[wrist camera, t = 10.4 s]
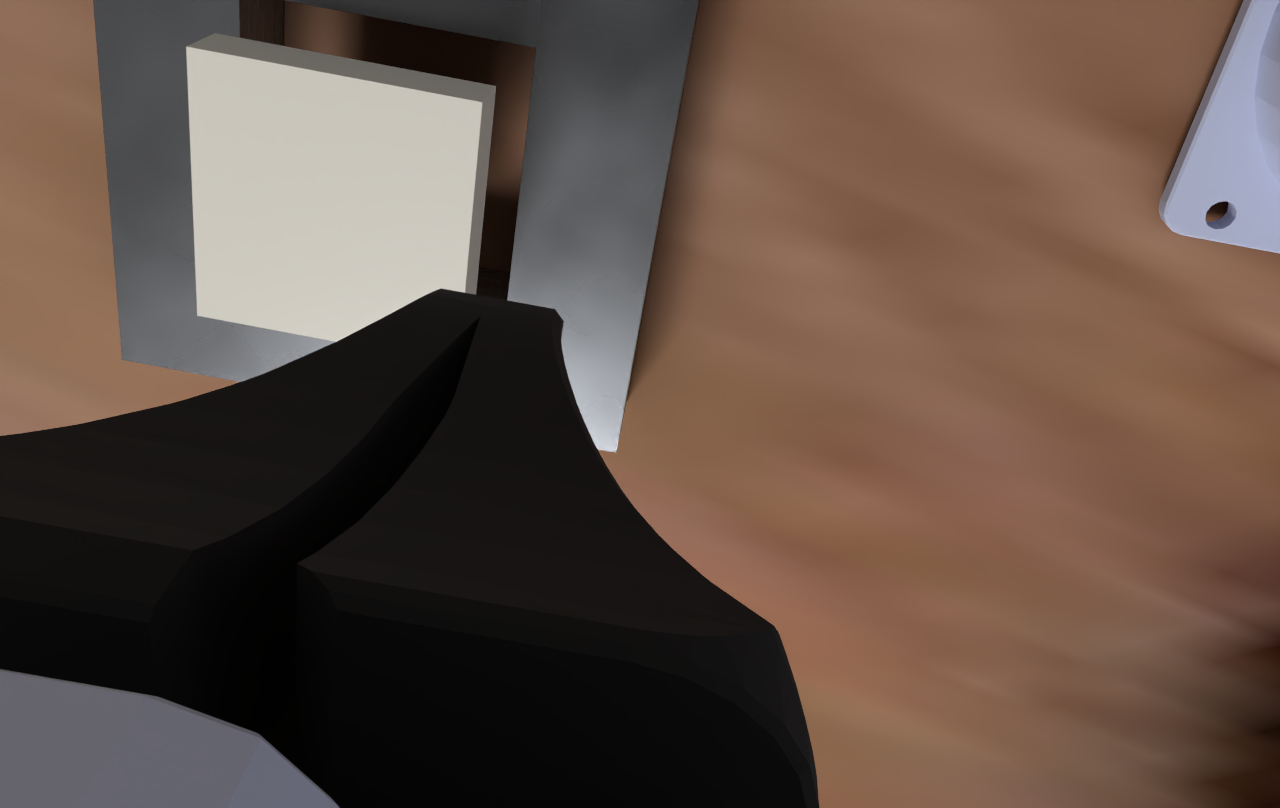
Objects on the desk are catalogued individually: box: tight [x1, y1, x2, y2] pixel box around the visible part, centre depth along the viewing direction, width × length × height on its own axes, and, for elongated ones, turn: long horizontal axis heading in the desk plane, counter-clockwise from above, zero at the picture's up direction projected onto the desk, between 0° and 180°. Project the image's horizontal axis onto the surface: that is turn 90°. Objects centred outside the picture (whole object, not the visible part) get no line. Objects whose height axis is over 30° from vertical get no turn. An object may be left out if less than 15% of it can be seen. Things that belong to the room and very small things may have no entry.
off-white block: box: [186, 33, 496, 342], centre depth 19 cm, size 4×4×3 cm
